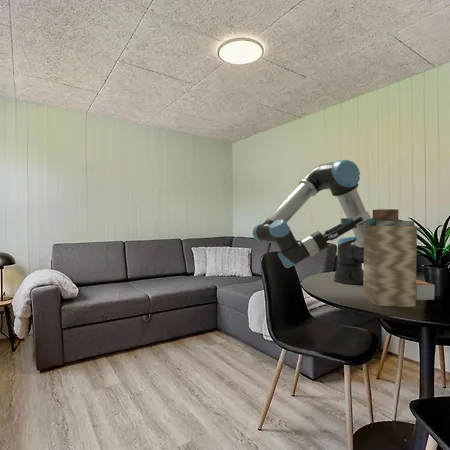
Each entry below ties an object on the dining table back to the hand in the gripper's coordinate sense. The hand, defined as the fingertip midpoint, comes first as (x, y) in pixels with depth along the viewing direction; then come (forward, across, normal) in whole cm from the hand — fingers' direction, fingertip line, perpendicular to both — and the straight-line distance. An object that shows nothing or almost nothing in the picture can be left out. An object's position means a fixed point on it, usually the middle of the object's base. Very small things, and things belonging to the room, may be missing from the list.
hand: (367, 214), depth 120 cm
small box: (+3, -16, -38) cm, 41 cm away
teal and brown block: (-2, 0, -4) cm, 4 cm away
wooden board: (-10, 0, -34) cm, 35 cm away
